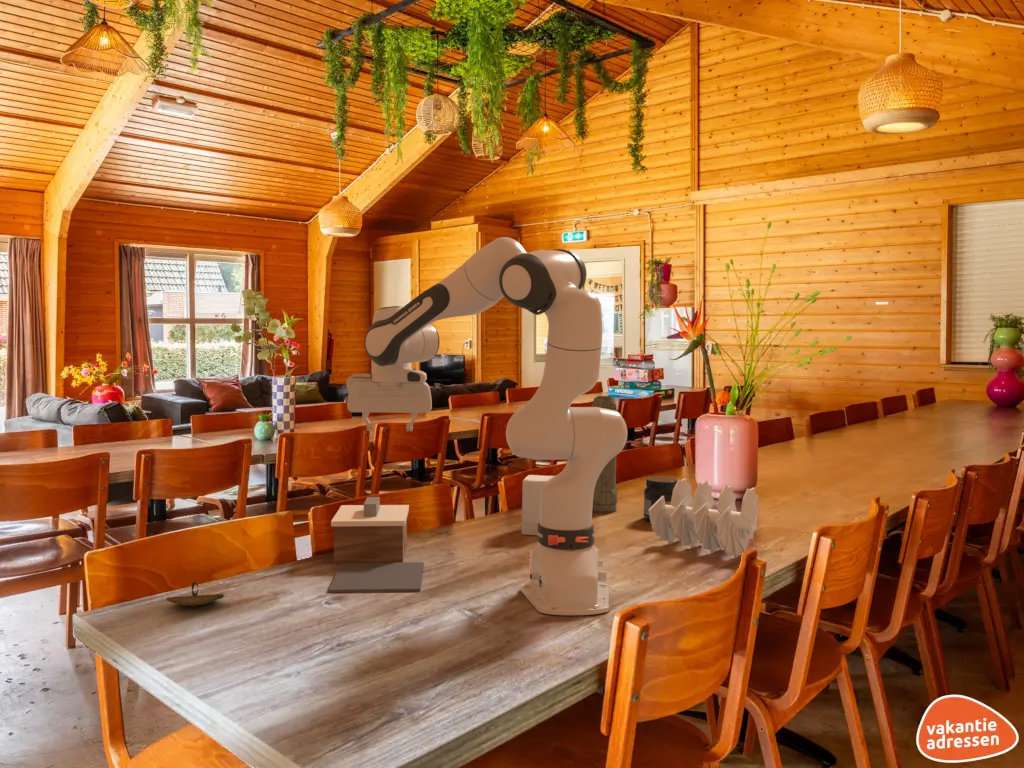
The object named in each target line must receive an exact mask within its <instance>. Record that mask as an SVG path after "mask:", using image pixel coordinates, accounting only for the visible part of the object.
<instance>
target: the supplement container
mask: <svg viewBox="0 0 1024 768" xmlns="http://www.w3.org/2000/svg"><path fill="white" fill-rule="evenodd" d="M678 479H679V478H678ZM678 479H677V478H675V477H670V476H647V478H645V487H644V489H643V513H642V514H643V515H642V516H643V518H644V520H646V521H648V522H650V523H651V521H650V516H649V509H650V508H651V507H652V506H653V505H654V504H655V503H656V502H657V501H658V500H659V499H660V498H661V497H662V496H664V499H665V505H671V499H672V493H673V489H674V487H675V485H676V483H677V481H678Z"/></svg>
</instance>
